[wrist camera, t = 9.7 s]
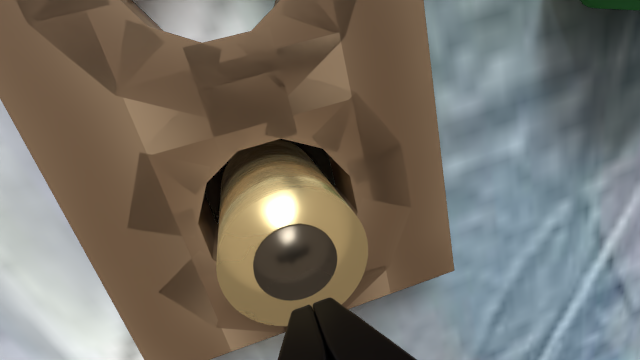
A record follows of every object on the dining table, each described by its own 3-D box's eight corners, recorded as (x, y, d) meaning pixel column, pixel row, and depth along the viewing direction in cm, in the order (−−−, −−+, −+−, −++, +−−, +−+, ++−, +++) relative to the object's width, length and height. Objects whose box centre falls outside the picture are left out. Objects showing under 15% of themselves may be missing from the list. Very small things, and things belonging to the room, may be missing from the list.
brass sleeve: (305, 127, 15) (353, 171, 9) (327, 214, 16) (380, 299, 10) (206, 155, 14) (192, 221, 8) (238, 242, 16) (244, 348, 10)
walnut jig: (345, -252, 11) (383, -354, 8) (418, 236, 18) (454, 270, 15) (-87, -193, 10) (-216, -294, 7) (167, 323, 16) (155, 379, 13)
